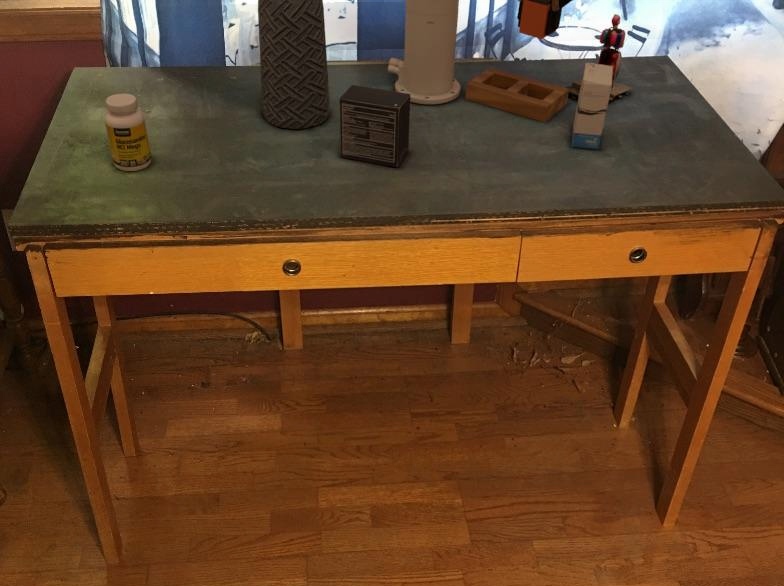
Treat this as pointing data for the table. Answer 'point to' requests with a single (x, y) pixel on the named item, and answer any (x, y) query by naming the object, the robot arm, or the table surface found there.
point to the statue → (608, 58)
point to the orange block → (534, 17)
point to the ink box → (592, 106)
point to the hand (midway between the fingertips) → (537, 27)
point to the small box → (374, 125)
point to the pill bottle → (127, 133)
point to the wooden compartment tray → (517, 94)
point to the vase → (293, 62)
